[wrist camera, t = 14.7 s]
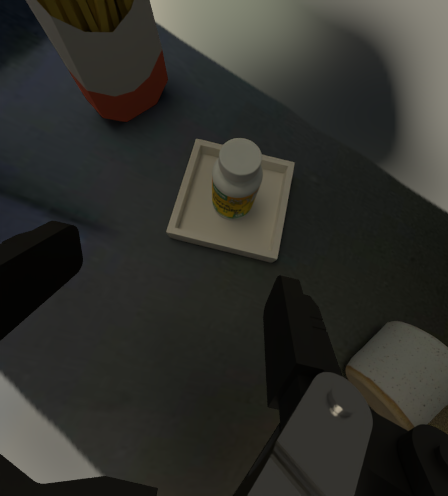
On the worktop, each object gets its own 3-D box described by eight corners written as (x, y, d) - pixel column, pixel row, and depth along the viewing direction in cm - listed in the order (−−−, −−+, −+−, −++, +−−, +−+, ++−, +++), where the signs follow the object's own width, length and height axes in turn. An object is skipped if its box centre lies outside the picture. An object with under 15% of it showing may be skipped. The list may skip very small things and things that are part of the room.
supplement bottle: (257, 194, 30) (278, 145, 21) (241, 227, 29) (256, 191, 20) (222, 178, 30) (227, 122, 21) (204, 210, 29) (201, 166, 20)
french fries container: (172, 96, 34) (132, -118, 17) (112, 133, 32) (-5, -69, 15) (154, 78, 35) (98, -147, 17) (94, 112, 33) (-39, -105, 15)
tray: (169, 237, 29) (166, 231, 26) (197, 150, 32) (196, 138, 30) (271, 262, 29) (277, 259, 26) (288, 173, 32) (294, 162, 30)
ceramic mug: (328, 361, 26) (375, 386, 19) (373, 316, 28) (433, 323, 20) (392, 441, 25) (471, 502, 17) (436, 389, 26) (526, 425, 19)
